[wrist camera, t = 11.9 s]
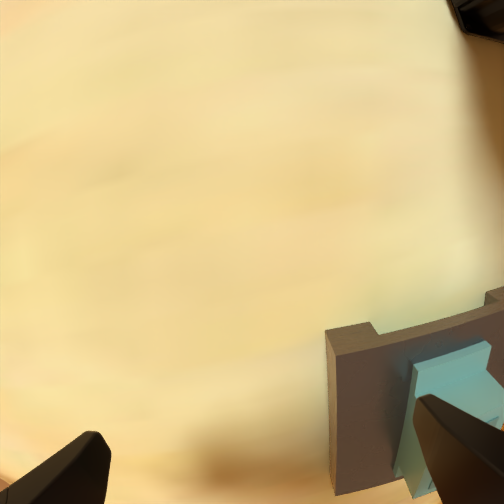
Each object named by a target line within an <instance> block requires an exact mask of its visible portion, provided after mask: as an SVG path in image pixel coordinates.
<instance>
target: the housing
mask: <svg viewBox="0 0 504 504" xmlns="http://www.w3.org/2000/svg"><path fill="white" fill-rule="evenodd" d="M490 351H491V345H490V344H489V343H488V342H487V341H483V342H480V343H477V344H475V345H472V346H469V347H466V348H464V349H461V350H458V351H455V352H452V353H449V354H446V355H443V356H440V357H436V358H433V359H430V360H427V361H423V362H420V363H416V364H413V370H412V378H411V385H410V391H409V398H408V404H407V409H406V415H405V420H404V425H403V430H402V435H401V440H400V444H399V448H398V453H397V457H396V461H395V465H394V469H393V473H394V475H395V478H396V477H400V476H404V479H405V481H406V484H407V486H408V488H409V491H410V493H411V496H412V498H413V499H415V498H417V497H420V496H423V495H426V494H428V493H431V492H433V491H436V490H437V489H436V487H435V485H434V482H433V480H432V478H431V476H430V473H429V471H428V469H427V466H426V463H425V460H424V457H423V454H422V450H421V447H420V444H419V441H418V438H417V435H416V432H415V429H414V425H413V413H414V408H415V403H416V399H417V398H418V397H420V396H423V395H426V394H433V395H435V396H437V397H439V398H441V399H442V400H444V401H446V402H448V403H450V404H452V405H454V406H455V407H457V408H459V409H461V410H463V411H465V412H467V413H469V414H471V415H473V416H474V417H476V418H478V419H480V420H482V421H484V422H486V423H488V424H490V425H492V426H494V427H496V428H498V429H500V430H501V427H502V425H503V423H504V388H503V387H502V386H501V385H500V384H499V383H498V382H497V381H496V380H495V379H494V378H493V377H492V376H491V374H490V373H489V372H488V371H487V370H486V367H487V363H488V359H489V355H490Z"/></svg>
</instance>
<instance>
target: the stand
mask: <svg viewBox="0 0 504 504" xmlns="http://www.w3.org/2000/svg"><path fill="white" fill-rule="evenodd" d="M325 337H326V353H327V371H328V394H329V429H330V475H331V480H332V484H333V489H334V493H335V496H338V495H343V494H347V493H352V492H356V491H360V490H364V489H368V488H372V487H376V486H379V485H383V484H386V483H390V482H393V481H396V480H399V479H402V478H404V476H400V477H396V478H395V475H394V473H393V469H394V465H395V461H396V457H397V453H398V448H399V444H400V440H401V435H402V430H403V425H404V420H405V415H406V409H407V404H408V398H409V391H410V385H411V378H412V370H413V364H416V363H420V362H423V361H427V360H430V359H433V358H436V357H440V356H443V355H446V354H449V353H452V352H455V351H458V350H461V349H464V348H466V347H469V346H472V345H475V344H477V343H480V342H483V341H487V342H488V343H489V344H490V345H491V351H490V355H489V359H488V363H487V367H486V370H487V371H488V372H489V373H490V374H491V376H492V377H493V378H494V379H495V380H496V381H497V382H498V383H499V384H500V385H501V386H502V387H503V388H504V287H500V288H497V289H494V290H491V291H488V292H486V297H485V304H484V306H483V307H480V308H477V309H474V310H471V311H467V312H464V313H461V314H457V315H454V316H451V317H447V318H444V319H440V320H437V321H433V322H429V323H426V324H422V325H418V326H414V327H410V328H406V329H402V330H398V331H394V332H390V333H385V334H381V335H378V334H377V332H376V331H375V329H374V328H373V326H372V325H371V323H370V322H366V323H361V324H356V325H351V326H346V327H341V328H335V329H330V330H325Z"/></svg>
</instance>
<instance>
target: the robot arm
mask: <svg viewBox="0 0 504 504" xmlns="http://www.w3.org/2000/svg"><path fill="white" fill-rule="evenodd" d="M451 1H452V4H453V6H454V9H455V12H456V15H457V18H458V21H459V24H460V27H461V29H462V31H463V32H464V33H466V34H468V35H472V36H477V37H481V38H485V39H489V40H493V41H497V42H500V43H504V0H451ZM466 26H467V27H468V28H467V27H466ZM413 425H414V429H415V432H416V435H417V438H418V441H419V444H420V447H421V450H422V454H423V457H424V460H425V463H426V466H427V469H428V471H429V473H430V476H431V478H432V480H433V482H434V485H435V487H436V489H437V491H438V494H439V496H440V498H441V501H442V503H443V504H504V431H502V430H500V429H498V428H496V427H494V426H492V425H490V424H488V423H486V422H484V421H482V420H480V419H478V418H476V417H474V416H473V415H471V414H469V413H467V412H465V411H463V410H461V409H459V408H457V407H455V406H454V405H452V404H450V403H448V402H446V401H444V400H442V399H441V398H439V397H437V396H435V395H433V394H426V395H423V396H420V397H418V398H417V399H416V403H415V408H414V413H413ZM110 462H111V450H110V448H109V446H108V445H107V443H106V442H105V440H104V438H103V437H102V435H101V434H100V433H99V432H97V431H86V432H84V433H83V434H81V435H80V436H79V437H77V438H76V439H75V440H73V441H72V442H71V443H69V444H68V445H66V446H65V447H64V448H62V449H61V450H60V451H58V452H57V453H55V454H54V455H53V456H51V457H50V458H48V459H47V460H46V461H44V462H43V463H41V464H40V465H39V466H37V467H36V468H34V469H33V470H32V471H30V472H29V473H27V474H26V475H24V476H23V477H22V478H20V479H19V480H17V481H16V482H14V483H13V484H11V485H10V486H9V487H7V488H6V489H4V490H3V491H1V492H0V504H104V502H105V497H106V491H107V484H108V476H109V469H110Z"/></svg>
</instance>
